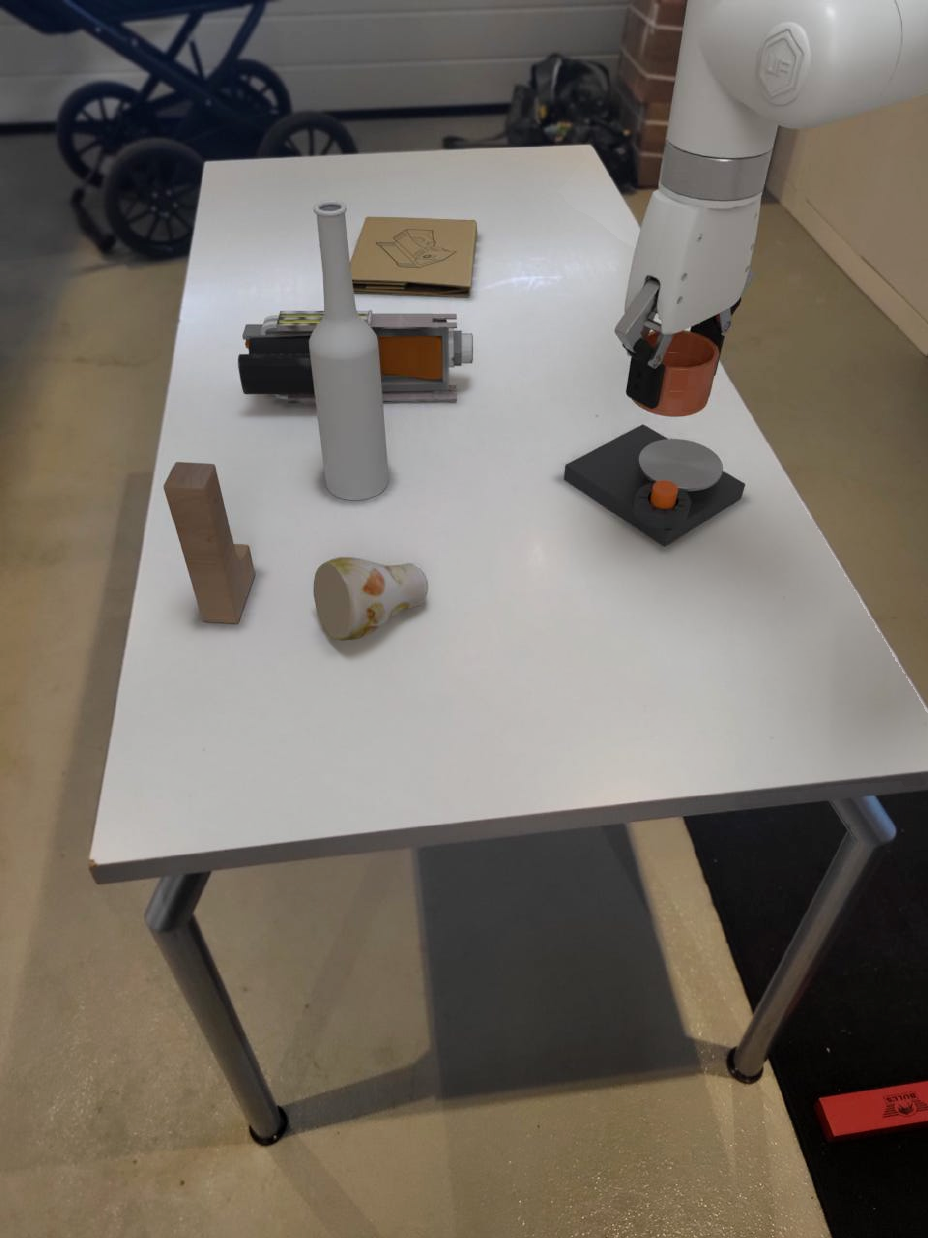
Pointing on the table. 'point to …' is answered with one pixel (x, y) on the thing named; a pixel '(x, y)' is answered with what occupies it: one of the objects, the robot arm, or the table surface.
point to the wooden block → (209, 542)
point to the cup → (685, 374)
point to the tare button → (664, 494)
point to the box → (414, 256)
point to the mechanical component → (406, 354)
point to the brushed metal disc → (681, 464)
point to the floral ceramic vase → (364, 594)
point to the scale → (645, 488)
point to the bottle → (346, 373)
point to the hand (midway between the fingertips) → (671, 384)
